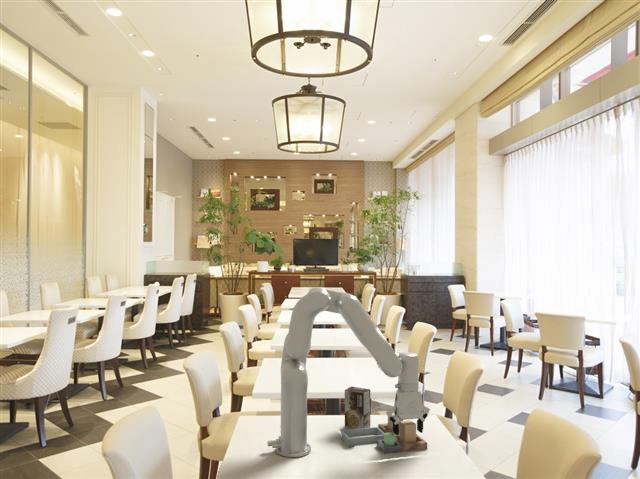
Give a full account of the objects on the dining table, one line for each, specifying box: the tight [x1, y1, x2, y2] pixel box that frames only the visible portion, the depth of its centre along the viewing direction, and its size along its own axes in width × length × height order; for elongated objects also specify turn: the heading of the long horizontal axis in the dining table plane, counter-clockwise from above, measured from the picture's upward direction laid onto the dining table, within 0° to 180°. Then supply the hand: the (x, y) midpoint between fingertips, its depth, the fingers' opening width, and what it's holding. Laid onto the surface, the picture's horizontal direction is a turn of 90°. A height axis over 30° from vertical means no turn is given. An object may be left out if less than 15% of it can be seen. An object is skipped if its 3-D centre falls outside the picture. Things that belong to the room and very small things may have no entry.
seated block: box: [387, 413, 404, 432], centre depth 192 cm, size 4×4×8 cm
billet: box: [400, 419, 417, 443], centre depth 182 cm, size 4×4×8 cm
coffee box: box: [344, 386, 371, 430], centre depth 199 cm, size 9×6×16 cm
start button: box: [384, 433, 395, 446], centre depth 177 cm, size 4×4×5 cm
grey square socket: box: [376, 439, 403, 455], centre depth 177 cm, size 7×7×3 cm
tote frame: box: [340, 426, 384, 448], centre depth 187 cm, size 15×9×3 cm, turn 106°
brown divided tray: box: [377, 422, 428, 453], centre depth 187 cm, size 10×22×3 cm, turn 16°
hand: (408, 432), depth 182 cm, fingers open, 9 cm apart
